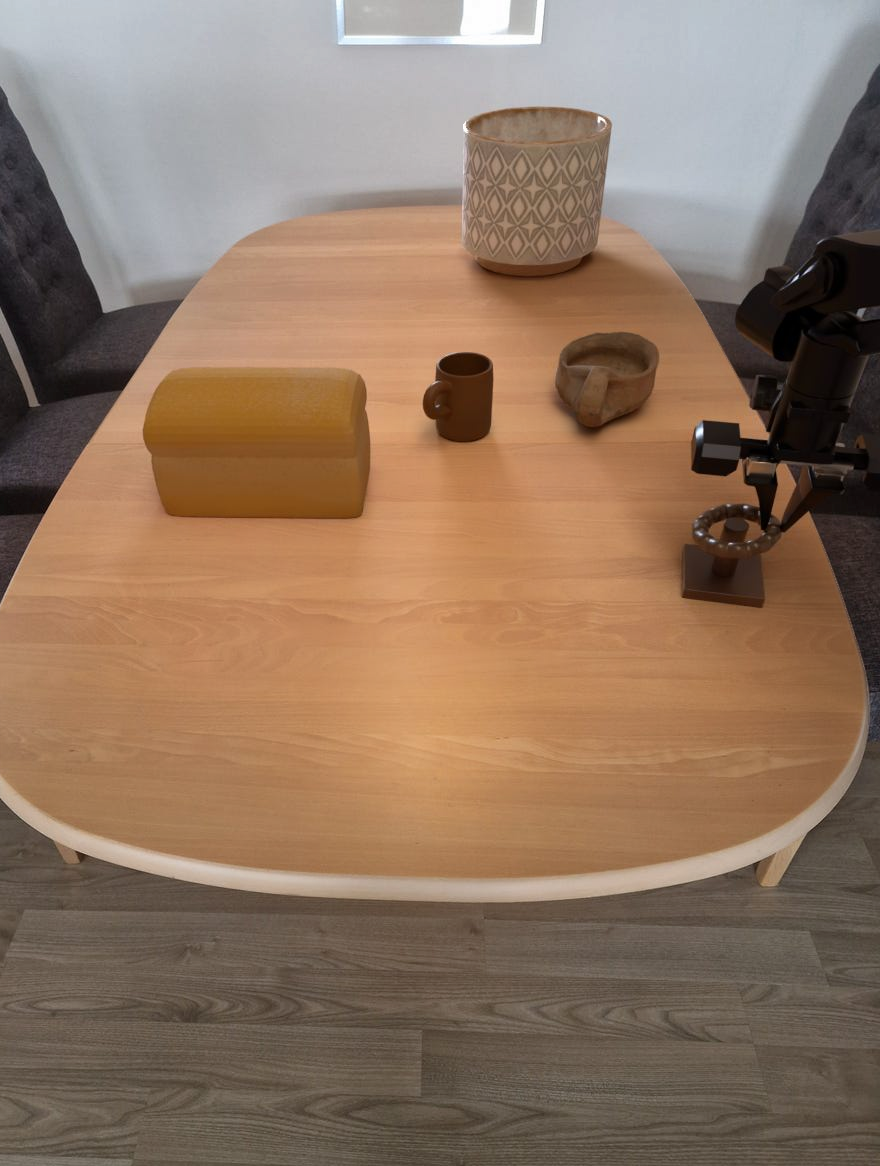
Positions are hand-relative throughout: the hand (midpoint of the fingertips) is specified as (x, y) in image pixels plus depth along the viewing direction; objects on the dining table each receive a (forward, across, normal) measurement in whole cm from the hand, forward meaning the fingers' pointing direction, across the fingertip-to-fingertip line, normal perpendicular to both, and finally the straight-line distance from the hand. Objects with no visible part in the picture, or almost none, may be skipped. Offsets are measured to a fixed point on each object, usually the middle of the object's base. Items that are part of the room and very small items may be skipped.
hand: (772, 529), depth 84 cm
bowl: (+7, +18, -34) cm, 39 cm away
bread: (+7, +57, -7) cm, 58 cm away
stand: (+7, +3, 0) cm, 8 cm away
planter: (+7, +36, -92) cm, 99 cm away
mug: (+7, +37, -24) cm, 45 cm away
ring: (+1, +3, 0) cm, 3 cm away
